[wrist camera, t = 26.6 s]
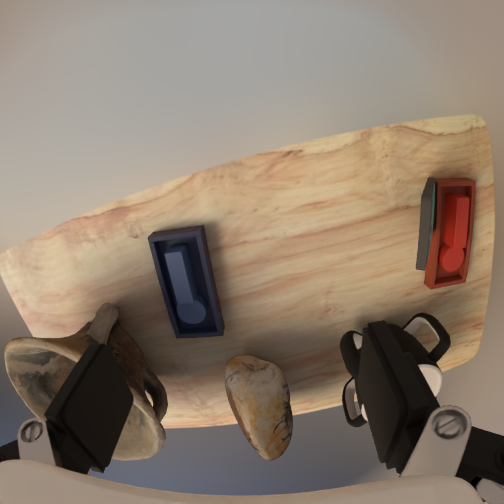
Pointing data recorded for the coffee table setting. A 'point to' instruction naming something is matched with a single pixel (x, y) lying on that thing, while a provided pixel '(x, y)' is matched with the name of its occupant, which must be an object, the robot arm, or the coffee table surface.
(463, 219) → the red spoon
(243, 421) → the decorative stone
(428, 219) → the smartphone
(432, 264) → the red tray
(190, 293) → the blue spoon
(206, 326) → the blue tray
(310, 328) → the coffee table surface
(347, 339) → the mug
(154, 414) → the bowl
